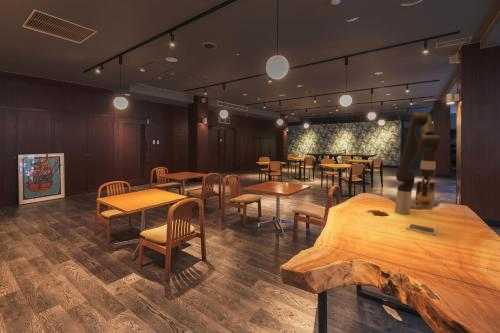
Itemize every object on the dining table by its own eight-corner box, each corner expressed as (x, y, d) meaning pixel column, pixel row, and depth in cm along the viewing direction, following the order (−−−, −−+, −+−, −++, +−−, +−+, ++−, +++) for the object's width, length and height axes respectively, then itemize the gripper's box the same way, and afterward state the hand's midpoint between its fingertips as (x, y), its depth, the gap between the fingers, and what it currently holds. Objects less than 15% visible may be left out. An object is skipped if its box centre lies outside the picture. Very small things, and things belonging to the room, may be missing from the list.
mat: (406, 229, 154) (406, 228, 153) (409, 224, 163) (409, 223, 163) (434, 235, 145) (434, 233, 145) (435, 229, 154) (436, 228, 154)
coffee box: (413, 207, 153) (416, 182, 151) (415, 205, 158) (418, 180, 156) (432, 210, 147) (434, 184, 145) (433, 208, 151) (436, 182, 149)
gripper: (421, 166, 157) (418, 192, 159) (418, 168, 146) (416, 196, 148) (436, 167, 152) (433, 193, 154) (434, 170, 141) (431, 198, 143)
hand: (424, 194), depth 151 cm, fingers closed on coffee box, 6 cm apart
